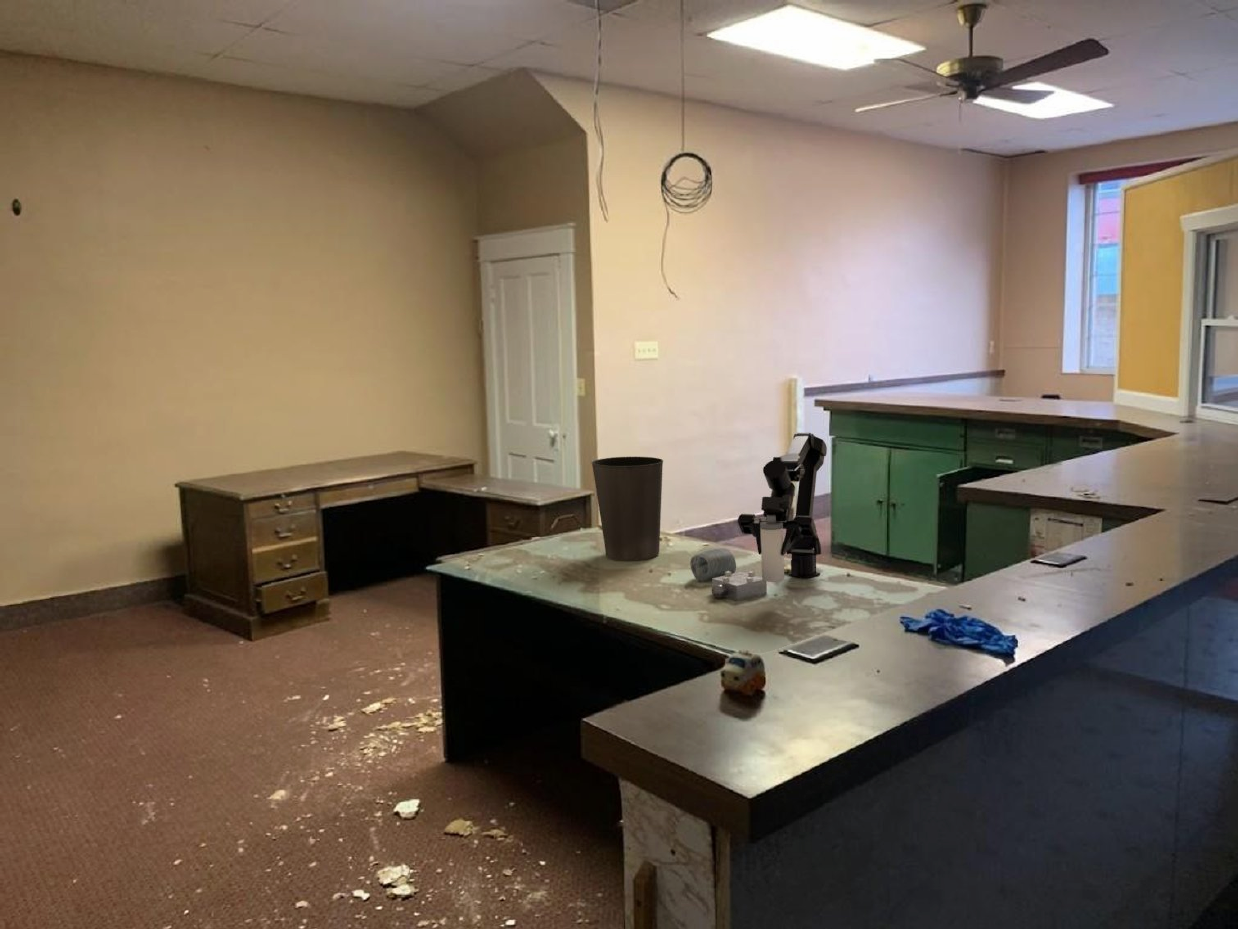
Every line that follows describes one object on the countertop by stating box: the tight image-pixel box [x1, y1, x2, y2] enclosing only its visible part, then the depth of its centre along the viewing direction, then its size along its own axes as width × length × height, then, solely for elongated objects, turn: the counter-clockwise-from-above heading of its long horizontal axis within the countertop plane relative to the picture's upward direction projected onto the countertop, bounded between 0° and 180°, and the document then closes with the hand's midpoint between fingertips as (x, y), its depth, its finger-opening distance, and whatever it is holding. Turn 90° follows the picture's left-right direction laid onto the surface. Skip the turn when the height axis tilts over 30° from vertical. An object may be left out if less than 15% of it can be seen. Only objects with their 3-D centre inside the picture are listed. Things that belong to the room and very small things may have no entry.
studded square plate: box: [711, 571, 768, 602], centre depth 240 cm, size 13×10×5 cm
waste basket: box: [591, 456, 664, 562], centre depth 289 cm, size 27×20×30 cm
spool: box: [690, 547, 737, 582], centre depth 258 cm, size 14×10×10 cm
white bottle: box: [760, 514, 785, 583], centre depth 227 cm, size 6×6×16 cm
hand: (770, 554), depth 226 cm, fingers closed on white bottle, 5 cm apart
